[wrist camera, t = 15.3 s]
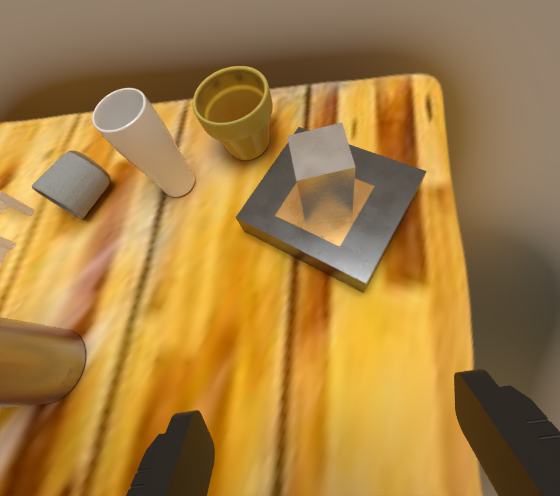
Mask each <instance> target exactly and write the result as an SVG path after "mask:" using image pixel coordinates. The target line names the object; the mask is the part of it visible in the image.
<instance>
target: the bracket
mask: <svg viewBox="0 0 560 496" xmlns="http://www.w3.org/2000/svg"><path fill="white" fill-rule="evenodd" d="M10 208H14V209H16V210H18V211H19V212H21V213H23V214H25V215H28V216H32V215H33V214H34V212H35V210H34V209H32V208H30V207H28V206H27V205H25V204H23V203H21V202H19V201H18V200H16V199H14V198H12V197H10V196H9V195H7V194H5V193H3V192H1V191H0V214H1V213H2V212H4V211H6V210H8V209H10ZM15 246H16V243H14V242H12V241H10V240H7V239H5V238H2V237H0V265H1V264H2V262H3V260H4V258H5V257H6V255H7V253H8V252H9V250H11V249H13V248H14V247H15Z"/></svg>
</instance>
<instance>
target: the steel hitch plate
mask: <svg viewBox="0 0 560 496" xmlns="http://www.w3.org/2000/svg"><path fill="white" fill-rule="evenodd" d="M305 131H309V130H306V129H303V128H300V127H298V129H297V130H296V132H295V133H294V134H297V133H301V132H305ZM349 147H350V151H351V154H352V157H353V160H354V164H355V167H356V168H355V182H354V196H353V211H352V217H347V218H343V219H338V220H333V221H329V222H324V223H319V224H315V225H310V226H306V222H305V217H304V213H303V208H302V204H301V199H300V195H299V190H298V186H297V181H296V177H295V172H294V167H293V162H292V157H291V152H290V147H289V142H288V143H287V145H286V146H285V147H284V149H283V150H282V152H281V153H280V155H279V156H278V158H277V159H276V160H275V162H274V163H273V165H272V166H271V168H270V169H269V170H268V172H267V173H266V175H265V176H264V178H263V179H262V180H261V182H260V183H259V185H258V186H257V188H256V189H255V190H254V192H253V193H252V195H251V196H250V198H249V199H248V201H247V202H246V203H245V205H244V206H243V208H242V209H241V211H240V212H239V213H238V215H237V216H236V219H237V221H238V222H239V224H240V225H241V227H242V228H243V230H244V231H245V232H247V233H249V234H251V235H253V236H255V237H257V238H259V239H261V240H263V241H265V242H267V243H269V244H270V245H272V246H274V247H276V248H278V249H280V250H282V251H284V252H286V253H288V254H290V255H292V256H294V257H296V258H298V259H299V260H301V261H303V262H305V263H307V264H309V265H311V266H313V267H315V268H317V269H319V270H321V271H323V272H325V273H327V274H329V275H330V276H332V277H334V278H336V279H338V280H340V281H342V282H344V283H346V284H348V285H350V286H352V287H354V288H356V289H358V290H359V291H361V292H363V293H364V291H365V289H366V288H367V286H368V284H369V282H370V280H371V278H372V276H373V274H374V273H375V271H376V269H377V267H378V265H379V263H380V261H381V259H382V258H383V256H384V254H385V252H386V250H387V248H388V246H389V244H390V243H391V241H392V239H393V237H394V235H395V233H396V231H397V230H398V228H399V226H400V224H401V222H402V220H403V218H404V216H405V215H406V213H407V211H408V209H409V207H410V205H411V203H412V201H413V200H414V198H415V196H416V194H417V192H418V190H419V188H420V186H421V183H422V181H423V178H424V176H425V173H426V171H424V170H421V169H418V168H415V167H413V166H410V165H407V164H404V163H401V162H398V161H395V160H392V159H390V158H387V157H384V156H381V155H378V154H375V153H372V152H369V151H366V150H364V149H361V148H358V147H355V146H352V145H349Z"/></svg>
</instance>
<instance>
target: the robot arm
mask: <svg viewBox="0 0 560 496" xmlns="http://www.w3.org/2000/svg"><path fill="white" fill-rule="evenodd" d="M85 356H86V353H85V346H84V344H83V341H82V339H81V338H80V336H79V335H78V334H76V333H75V332H73V331H71V330H67V329H62V328H56V327H50V326H45V325H40V324H35V323H29V322H23V321H18V320H12V319H7V318H1V317H0V408H9V407H21V406H31V405H42V404H50V403H53V402H56V401H58V400H60V399H61V398H63V397H64V396H65V395H67V394H68V393H69V392H70V391H71V390H72V388H73V387H74V386H75V385H76V383H77V381H78V380H79V378H80V376H81V374H82V371H83V368H84V364H85ZM454 387H455V411H456V416H457V419H458V422H459V425H460V427H461V430H462V432H463V433H464V435H465V437H466V439H467V441H468V442H469V444H470V446H471V448H472V450H473V451H474V453H475V455H476V457H477V458H478V460H479V462H480V464H481V466H482V467H483V469H484V471H485V473H486V474H487V476H488V478H489V480H490V482H491V483H492V485H493V487H494V489H495V490H496V492H497V494H498V495H499V496H560V432H559V431H558V429H557V428H556V427H555V426H554V425H553V424H552V423H551V422H549V421H548V419H547V417H546V416H545V415H544V414H543V412H542V411H541V410H540V409H539V408H538V407H537V406H536V404H535V403H534V402H533V401H532V400H531V399H529V398H528V397H526V396H525V395H524V394H522V393H521V392H519V391H518V390H516V389H515V388H513V387H512V386H503V387H499V386H498V385H497V384H496V383H495V381H494V380H493V379H492V378H491V376H490V375H489V374H488V373H487V372H486V371H485V370H484V369H478V370H471V371H464V372H457V373H455V375H454ZM214 459H215V449H214V443H213V440H212V438H211V435H210V433H209V431H208V429H207V426H206V424H205V422H204V419H203V417H202V415H201V413H200V411H198V410H196V411H189V412H182V413H176V414H174V415H173V416H172V418H171V420H170V423H169V425H168V428H167V430H166V433H165V434H159V435H158V436H157V437H156V439H155V440H154V441H153V442H152V444H151V445H150V446H149V448H148V449H147V450H146V452H145V454H144V456H143V458H142V461H141V463H140V465H139V468H138V473H137V474H135V477H134V479H133V481H132V484H131V489H130V490H128V493H127V495H126V496H207V493H208V488H209V484H210V479H211V475H212V470H213V466H214Z"/></svg>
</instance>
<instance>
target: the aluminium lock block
mask: <svg viewBox="0 0 560 496" xmlns="http://www.w3.org/2000/svg"><path fill="white" fill-rule="evenodd" d="M287 137H288V142H289V147H290V152H291V157H292V162H293V167H294V172H295V177H296V181H297V186H298V190H299V195H300V199H301V204H302V208H303V213H304V217H305V222H306V226H310V225H315V224H319V223H324V222H329V221H333V220H338V219H343V218H347V217H352V211H353V196H354V182H355V168H356V167H355V164H354V160H353V157H352V154H351V151H350V147H349V144H348V141H347V137H346V134H345V131H344V128H343V124H342V123H338V124H334V125H330V126H326V127H322V128H318V129H314V130H310V131H305V132H301V133H297V134H293V135H289V136H287Z"/></svg>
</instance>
